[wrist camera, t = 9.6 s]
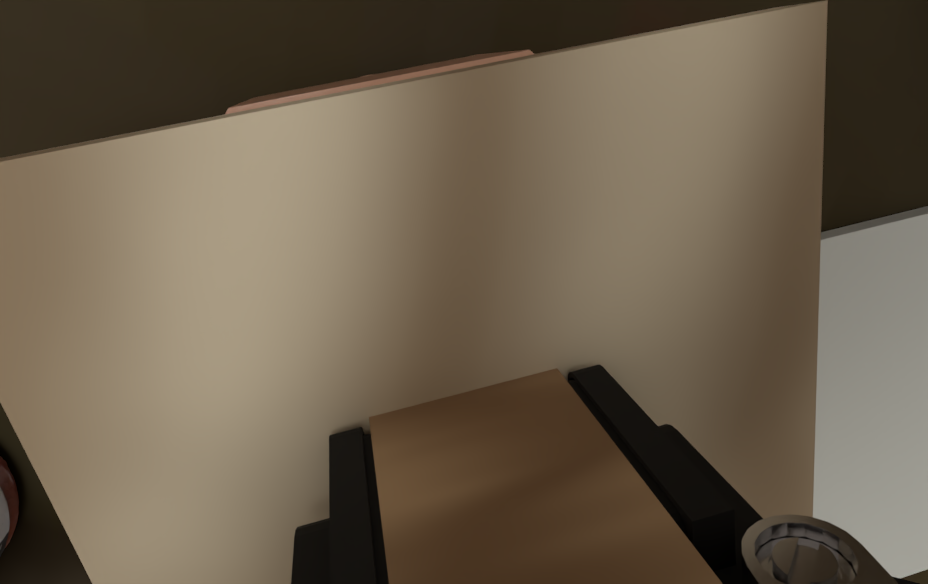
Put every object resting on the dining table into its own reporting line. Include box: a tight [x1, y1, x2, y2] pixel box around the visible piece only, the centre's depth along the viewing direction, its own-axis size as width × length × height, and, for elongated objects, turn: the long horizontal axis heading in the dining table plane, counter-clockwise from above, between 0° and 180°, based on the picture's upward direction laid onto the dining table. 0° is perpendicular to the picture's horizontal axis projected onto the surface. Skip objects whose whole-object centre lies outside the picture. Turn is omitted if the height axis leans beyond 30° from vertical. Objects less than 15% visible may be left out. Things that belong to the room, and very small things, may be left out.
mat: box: [813, 206, 928, 578], centre depth 24 cm, size 16×16×1 cm
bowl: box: [225, 50, 534, 114], centre depth 16 cm, size 13×13×6 cm
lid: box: [0, 0, 828, 584], centre depth 9 cm, size 13×13×6 cm
